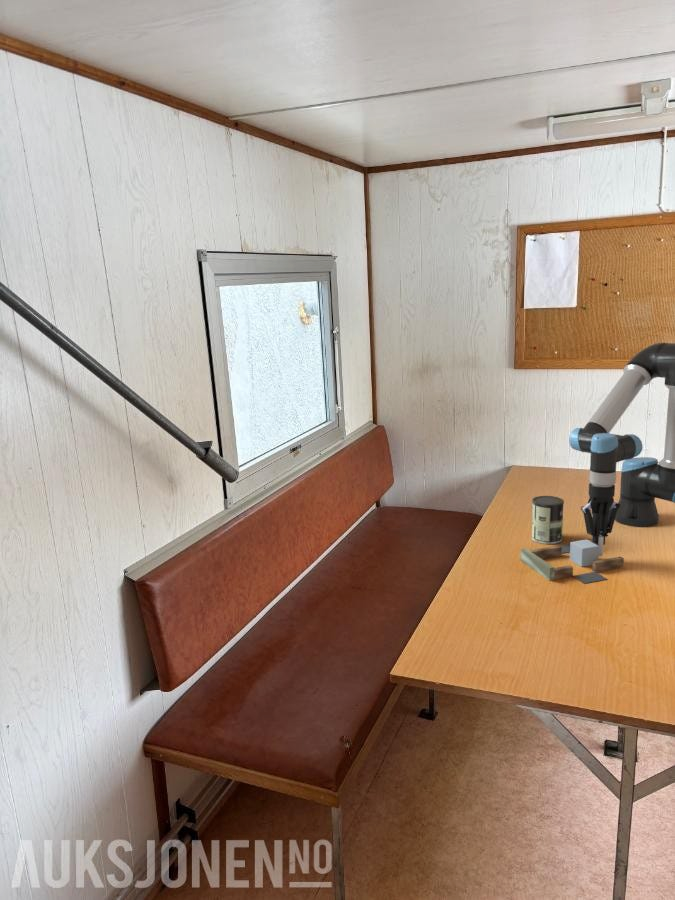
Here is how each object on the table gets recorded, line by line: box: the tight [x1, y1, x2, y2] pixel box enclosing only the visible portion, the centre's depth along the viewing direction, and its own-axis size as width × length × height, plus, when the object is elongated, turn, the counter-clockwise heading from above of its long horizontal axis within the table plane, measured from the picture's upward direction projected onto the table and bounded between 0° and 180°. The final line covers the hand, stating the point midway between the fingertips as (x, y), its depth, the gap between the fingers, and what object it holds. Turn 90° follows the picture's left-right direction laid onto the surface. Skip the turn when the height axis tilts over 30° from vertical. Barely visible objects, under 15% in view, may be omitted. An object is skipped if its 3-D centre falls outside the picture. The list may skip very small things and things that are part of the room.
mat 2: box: [572, 571, 608, 584], centre depth 200 cm, size 8×6×1 cm
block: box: [569, 539, 599, 568], centre depth 210 cm, size 6×6×6 cm
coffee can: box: [531, 495, 565, 545], centre depth 229 cm, size 10×10×14 cm
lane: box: [520, 539, 625, 581], centre depth 210 cm, size 26×16×4 cm, turn 106°
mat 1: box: [560, 543, 570, 554], centre depth 221 cm, size 8×6×1 cm
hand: (597, 554), depth 212 cm, fingers closed
